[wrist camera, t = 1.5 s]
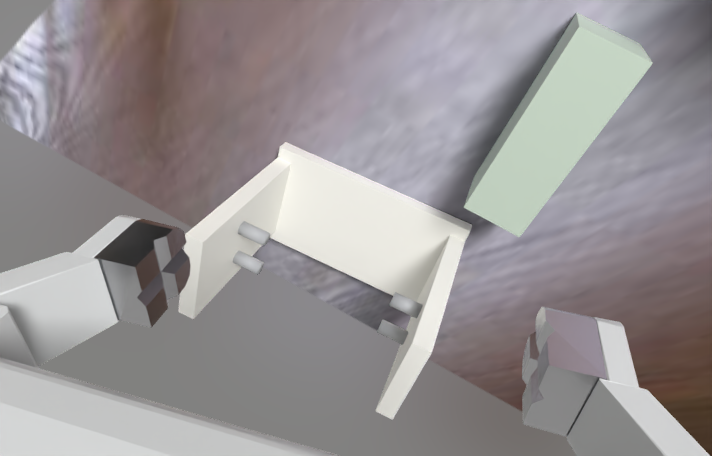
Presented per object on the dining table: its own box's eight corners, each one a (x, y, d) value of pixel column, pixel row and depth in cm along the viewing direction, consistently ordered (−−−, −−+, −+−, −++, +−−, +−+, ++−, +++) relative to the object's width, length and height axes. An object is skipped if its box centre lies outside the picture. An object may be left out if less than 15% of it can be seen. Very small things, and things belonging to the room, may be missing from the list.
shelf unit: (472, 224, 37) (438, 341, 27) (429, 304, 43) (387, 427, 32) (285, 142, 39) (186, 221, 29) (266, 228, 45) (177, 321, 34)
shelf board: (576, 12, 29) (579, 26, 24) (639, 43, 28) (652, 62, 24) (474, 175, 36) (463, 207, 32) (524, 201, 35) (519, 237, 31)
